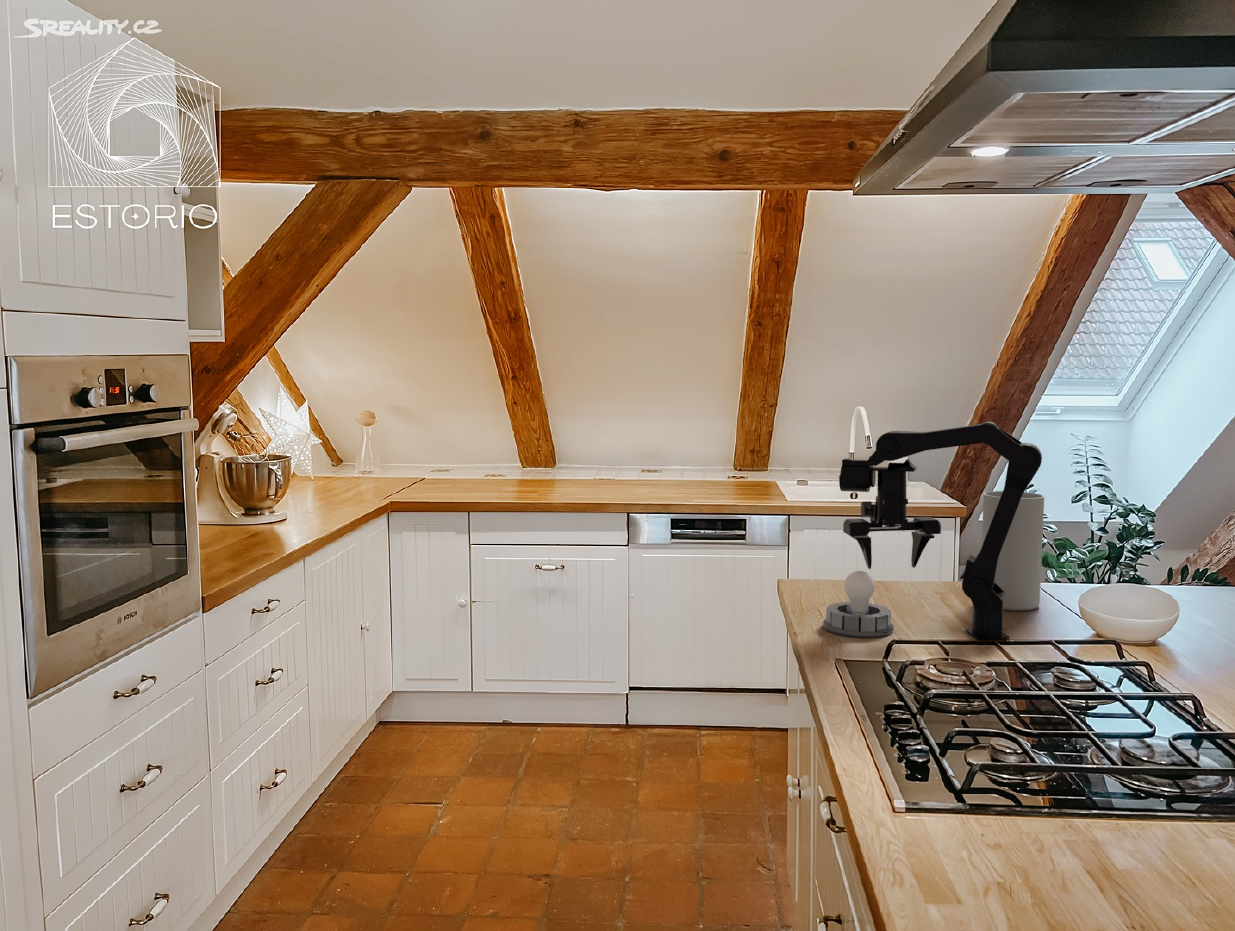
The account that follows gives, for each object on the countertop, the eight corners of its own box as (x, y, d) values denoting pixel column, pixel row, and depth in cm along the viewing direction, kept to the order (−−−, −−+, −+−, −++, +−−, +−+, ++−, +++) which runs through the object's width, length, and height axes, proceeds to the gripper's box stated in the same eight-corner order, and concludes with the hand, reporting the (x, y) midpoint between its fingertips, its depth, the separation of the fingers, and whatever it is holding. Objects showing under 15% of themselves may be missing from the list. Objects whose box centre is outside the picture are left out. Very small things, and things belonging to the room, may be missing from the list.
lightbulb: (856, 618, 203) (857, 566, 202) (880, 624, 198) (881, 571, 197) (837, 623, 199) (838, 570, 198) (861, 629, 194) (862, 575, 193)
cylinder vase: (1047, 604, 218) (1052, 494, 216) (1026, 614, 209) (1031, 500, 207) (993, 595, 227) (997, 489, 224) (970, 605, 218) (974, 495, 215)
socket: (903, 637, 192) (904, 617, 192) (834, 638, 191) (834, 619, 191) (880, 619, 206) (880, 600, 206) (815, 620, 205) (815, 601, 205)
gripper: (923, 487, 207) (922, 559, 208) (836, 489, 206) (836, 561, 207) (942, 493, 196) (941, 569, 197) (850, 495, 195) (850, 572, 196)
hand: (891, 567), depth 200 cm, fingers open, 9 cm apart
